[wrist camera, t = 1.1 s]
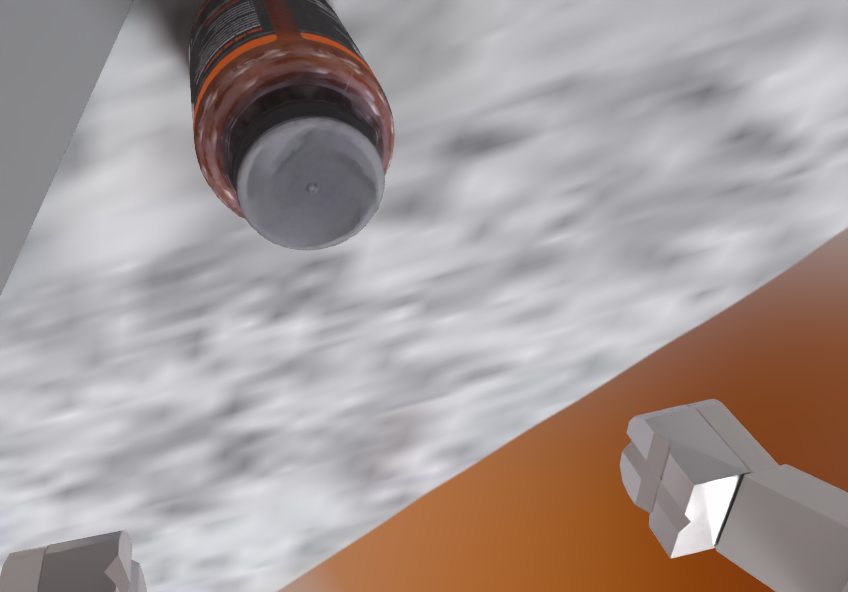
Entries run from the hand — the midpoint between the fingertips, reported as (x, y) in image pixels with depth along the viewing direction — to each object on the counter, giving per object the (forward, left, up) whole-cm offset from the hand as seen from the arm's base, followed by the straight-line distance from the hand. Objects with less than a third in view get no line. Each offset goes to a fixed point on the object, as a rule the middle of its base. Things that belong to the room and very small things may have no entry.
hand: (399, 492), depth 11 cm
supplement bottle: (0, 0, -21) cm, 21 cm away
